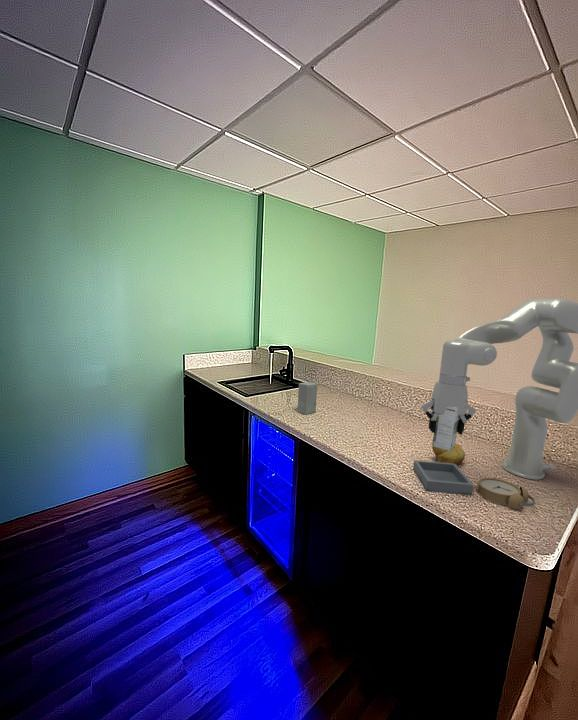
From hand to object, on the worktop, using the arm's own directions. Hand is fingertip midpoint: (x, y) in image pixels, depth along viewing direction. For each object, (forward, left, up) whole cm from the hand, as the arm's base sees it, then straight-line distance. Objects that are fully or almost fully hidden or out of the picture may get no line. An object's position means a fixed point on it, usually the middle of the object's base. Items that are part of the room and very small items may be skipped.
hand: (445, 431), depth 105 cm
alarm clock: (-17, +7, -18) cm, 26 cm away
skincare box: (+46, -62, -18) cm, 79 cm away
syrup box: (0, 0, -5) cm, 5 cm away
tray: (-1, 0, -17) cm, 18 cm away
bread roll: (-10, -16, -18) cm, 26 cm away
